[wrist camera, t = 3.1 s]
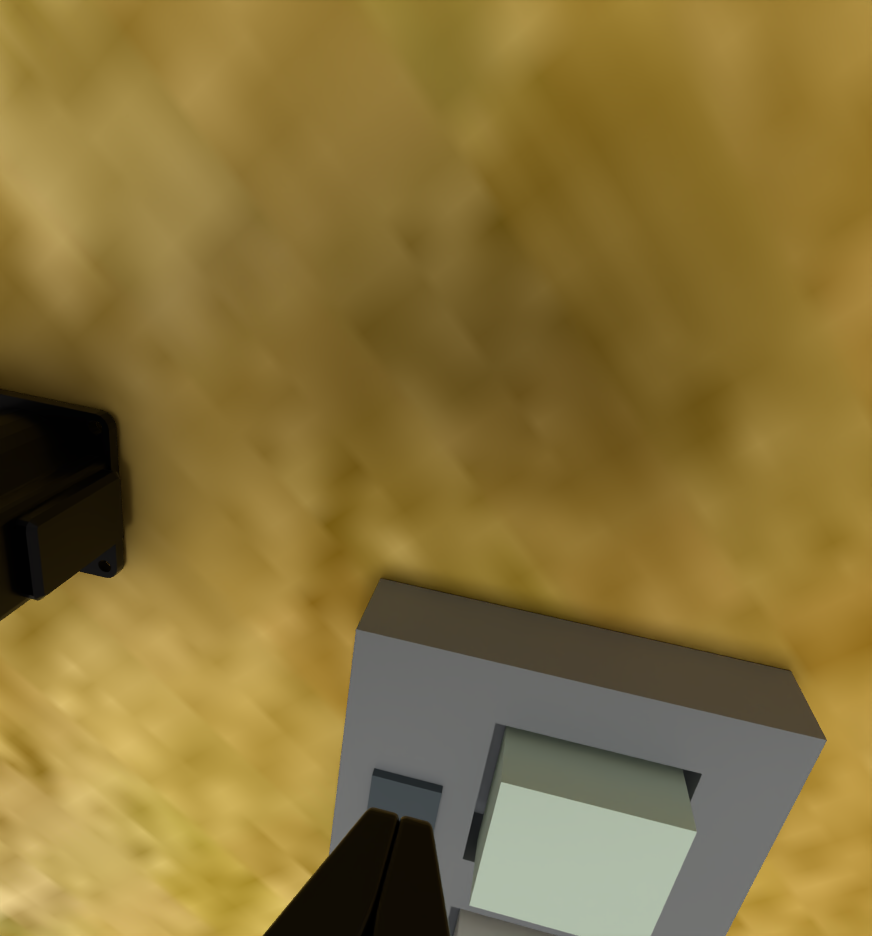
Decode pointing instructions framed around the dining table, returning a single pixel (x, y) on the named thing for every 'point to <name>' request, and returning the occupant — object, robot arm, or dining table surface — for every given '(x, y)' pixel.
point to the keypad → (567, 734)
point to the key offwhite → (490, 926)
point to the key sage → (580, 837)
